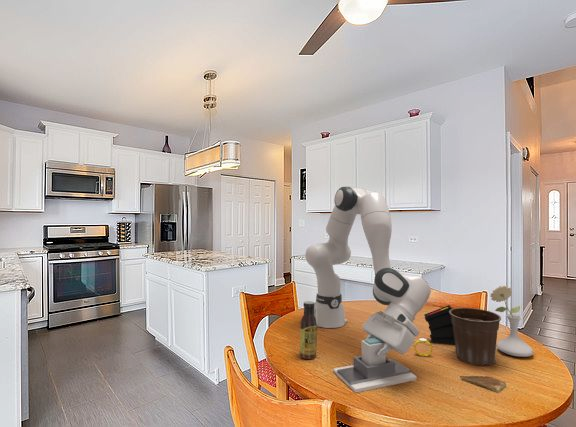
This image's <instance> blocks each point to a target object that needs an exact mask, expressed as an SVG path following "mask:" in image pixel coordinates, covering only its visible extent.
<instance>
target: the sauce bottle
mask: <svg viewBox="0 0 576 427" xmlns="http://www.w3.org/2000/svg"><path fill="white" fill-rule="evenodd" d="M314 303H315V302H314V301H309V300H307V301H303V315H302V317H301V319H300V328H299V330H300V331H299V334H300V335H299V356H300V358H302V359H303V360H304V359H305V360H313V359H315V358H316V357H317V353H318V350H317V348H318V346H317V345H318V344H317V343H318V338H317V336H318V326H317V323H316V318H315V316H314V306H315V305H314Z"/></svg>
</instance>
